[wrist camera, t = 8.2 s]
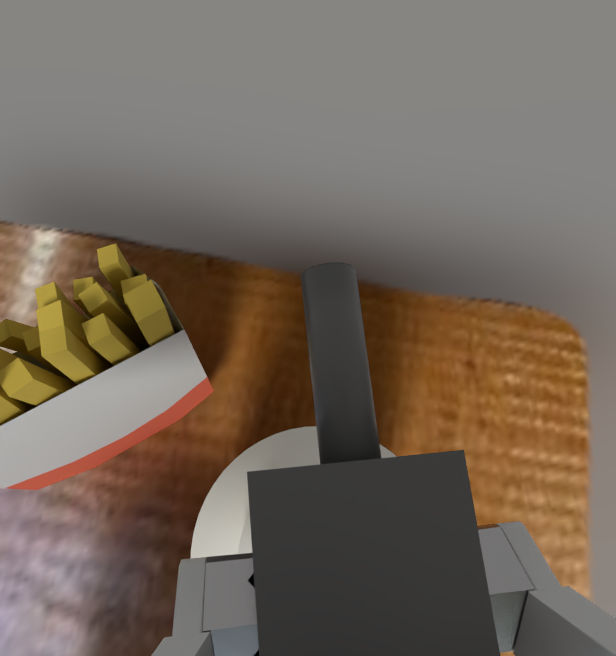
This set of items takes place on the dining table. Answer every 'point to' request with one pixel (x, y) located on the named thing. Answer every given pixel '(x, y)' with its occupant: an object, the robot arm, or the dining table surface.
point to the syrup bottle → (232, 491)
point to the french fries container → (92, 376)
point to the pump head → (363, 520)
